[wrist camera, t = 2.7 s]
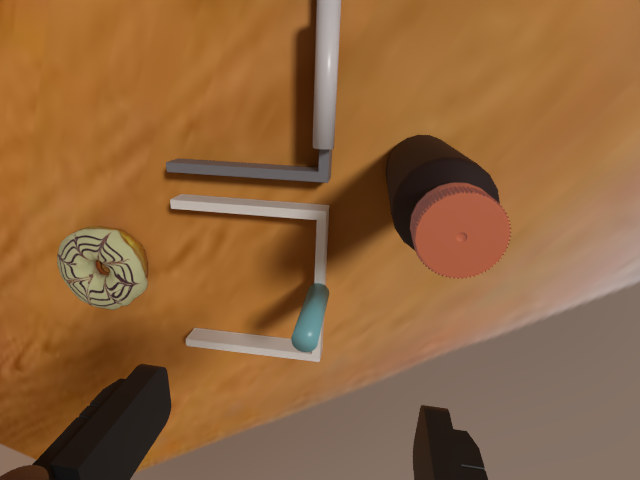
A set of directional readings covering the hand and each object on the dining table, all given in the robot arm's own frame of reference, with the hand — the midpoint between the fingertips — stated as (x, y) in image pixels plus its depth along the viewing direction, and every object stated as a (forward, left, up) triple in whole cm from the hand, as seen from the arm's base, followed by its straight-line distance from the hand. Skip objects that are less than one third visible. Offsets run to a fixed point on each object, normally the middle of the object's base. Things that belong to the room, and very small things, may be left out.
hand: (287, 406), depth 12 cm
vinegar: (+7, +2, -31) cm, 31 cm away
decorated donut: (-29, -12, -31) cm, 44 cm away
